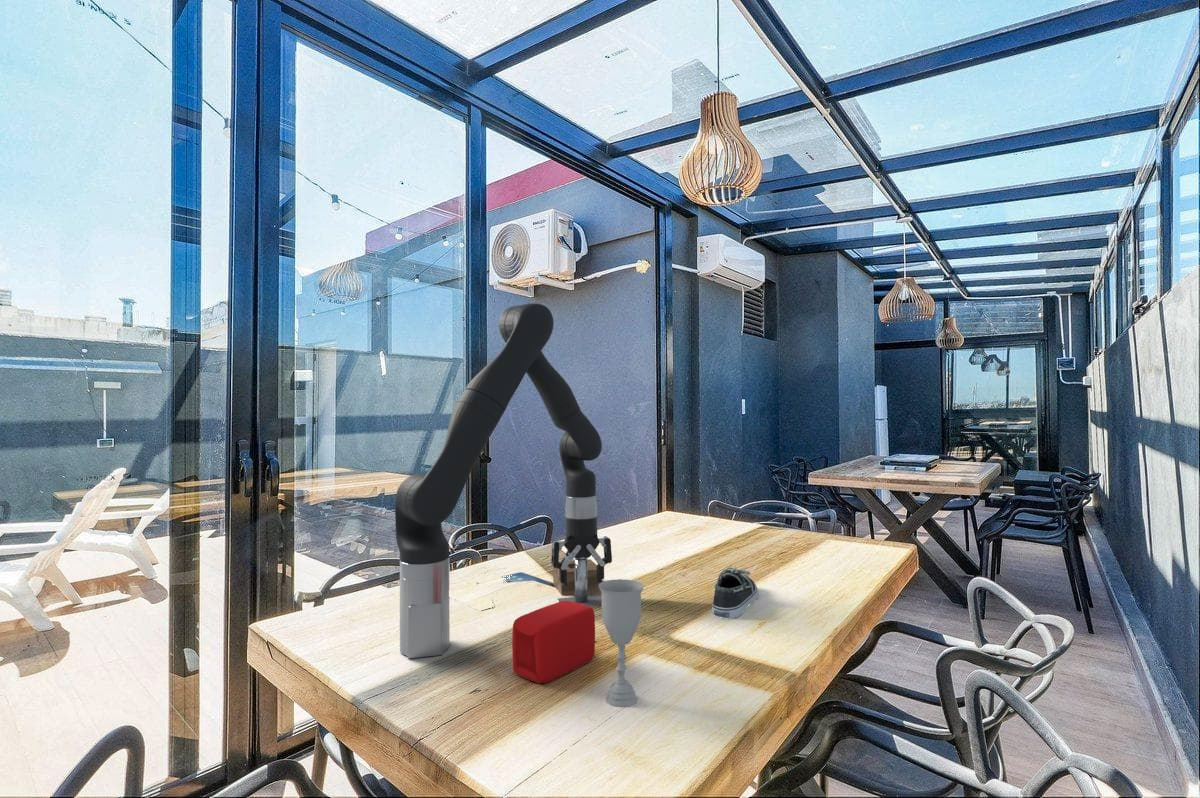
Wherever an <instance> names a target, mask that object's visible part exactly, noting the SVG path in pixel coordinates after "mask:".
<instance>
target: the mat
mask: <svg viewBox="0 0 1200 798" xmlns="http://www.w3.org/2000/svg"><path fill="white" fill-rule="evenodd" d="M557 600H558V602H560V601H571V602H575V596H572V597H571V596H570V597H559V598H557ZM580 604H583V605H586V606H589V607H592V606H599V605H601V606H602V597H600V596H599V594H593V595H588V601H587V602H586V603H580Z"/></svg>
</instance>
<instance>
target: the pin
mask: <svg viewBox="0 0 1200 798" xmlns="http://www.w3.org/2000/svg"><path fill="white" fill-rule="evenodd" d="M587 559H588V558H580V559H576V558H574V561H575V594H574V597H575V602H576V603H586V602H587V601H588V596H589V595H588V594H589V593H588V565H587Z"/></svg>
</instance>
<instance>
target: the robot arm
mask: <svg viewBox="0 0 1200 798" xmlns="http://www.w3.org/2000/svg"><path fill="white" fill-rule="evenodd" d="M554 324H555V323H554V317H553V313H552V312H551V310H550V309H549V307H547V306H546V305H544V304H541V303H535V302H533V303H531V302H530V303H525V304H519V305H514V306H510V307H508V308H506V309H505V310H503V311H502V313H501V315H500V316H499V319H498V329H499V333H500V335H501V337H502V339H503V341H504V343H505V344H504V346H503V347H502V349H501V350H500V351H499V353H497V355H496V356H495V357H494V358H493V359H492V360H491V361H490V362H489V363H488V364H487V365H486V366H484V367H483V368H482V369H481V370H480V371H479V372H478V373H477V374H476V375H475V376H474V377H473V378H472V379H471V380H470V382H469V383H468V384H467V385H466V386H465V388H464V390H463V392H462V393H461V395H460V397H459V398H458V400H457V401H456V404H455V405H454V407H453V409H452V411H451V415H450V418H449V422H448V427H447V433H446V436H445V442H444V444H443V447H442V449H441V451H440V453H439V455H438V456H437V458H436V459H435V462H434V463H433V464H432V466H431V468H430V469H429V470H428V472H427V473H426V474H423V473H417V474H413V475H412V474H411V475H409V476H408V477H406V478H405V479H404V480H403V481H402V482H401V483H400V484H399V486H398V488H397V490H396V494H395V502H394V518H395V521H394V522H395V523H394V524H395V538H396V544H397V548H398V552H399V652H400V653H401V654H402V655H404V656H406V657H407V659H414V658H415V659H416V658H424V657H432V656H433V657H435V656H442V654H443V652H445V651H446V650H448V648H449V647H450V639H451V638H450V630H451V629H450V597H449V590H450V543H449V541H448V540H447V538H446V536H445V533H444V531H443V528H442V523H443V522H445V521H446V520H447V519H448V518H450V516H451V515H452V513H453V512H454V510H455V508H456V506H457V504H458V502H459V500H460V497H461V495H462V493H463V490H464V488H465V486H466V483H467V481H468V479H469V477H470V474H471V472H472V470H473V468H474V466H475V465H476V462H477V461H478V458H479V457H480V455H481V453H482V452H483V450H484V449H485V446H486V445H487V443H488V442H489V439H490V437H491V435H492V434H493V432H494V431H495V429H496V428H497V426H498V424H499V422H500V420H501V419H502V416H503V415H504V413H505V411H506V410H507V407H508V406H509V404H510V401H511V400H512V398H513V397H514V395H515V393H516V391H517V390H518V387H520V384H521V382H522V381H523V378H524V377H525V376H526V375H527V377H528V378H529V380H530V381H531V382H532V384H533V386H534V387H535V389H536V391H537V392H538V394H539V396H540V398H541V400H542V402H543V404H544V406H545V408H546V410H547V412H548V414H549V416H550V419H551V420H552V423H553V425H554V426H555V427H556V428H558V429H559V430H562V431H564V433H563V434H562V436H561V438H560V441H559V445H558V450H559V451H558V452H559V456H560V457H559V458H560V460H561V461H560V462H561V465H562V468H563V472H564V475H565V486H566V487H565V492H566V494H565V495H566V496H565V506H564V507H565V509H564V515H565V518H564V519H565V538H564V540H556V539H554V540H552V543H551V562H550V563H551V566H552V568H553V567H554V568H559V580H560V582H561V583H562V584H563V586H566V585H567V570H566V567H567V566H568V564H569V563H570V562H571V561H574V559H575V558H576V559H580V558H587V559H589V558H590V557H592V558H593V559H594V560H595V561H596V566H597V581H598V582H601V583H602V582H603V580H604V579H605V566H606V565H607V564H612V562H613V555H612V540H611V538H609V537H608V536H603V537H600V538H599V537H598V503H597V494H596V493H597V492H596V490H597V480H596V474H595V473H594V471H592V470H590V469H589V468H587V467H586V464H585V462H586V461H587V462H590V461H594V460H596V459H598V458H599V457H600V455H601V453H602V448H603V443H602V439H601V435H600V434H599V432H598V431H597V429H596V427H595V426H594V424H592V422H591V421H590V419H588V417H587V416H586V415H585V414H584V412H582V410H581V408H580V406H579V403H578V400H577V398H576V397H575V395H574V392H573V390H572V388H571V387H570V385H569V384H568V382H567V381H566V379H564V378H563V376H562V375H561V374H560V373H559V372H558V371H557V369H555V367H554V366H553V365H552V364H551V362H549V360H548V359H547V358H546V356H545V355H544V353H543V351H542V350H543V349H544V347H545V346H546V345H547V343H548V342H549V340H550V339H551V336H552V334H553V331H554ZM599 545H601V547H602V548H603V557H601V556H600V555H599V554H598V552H597V551H596V549H597V548H598V546H599ZM563 547H565V549H566V550H567V551H566V552H565V553H564V555H563V557H562V559H561V560H560V551H561V550H562V549H563ZM559 560H560V561H559Z"/></svg>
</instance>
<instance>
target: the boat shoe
mask: <svg viewBox="0 0 1200 798" xmlns="http://www.w3.org/2000/svg"><path fill="white" fill-rule="evenodd" d="M748 575H751V572H750V571H748V570H745V569H742V568H738V569H737V567H732V566H727V567H726V568H725V569H722V570H721V571H720V572H719V573H718V576H717V580H716V583H715V584H714V586H713V587H714V593H713V601H712V604H711V614H713V615H712V616H714V615H715V616H714V617H716V616H718V617H722V618H721V619H723V618H733V619H736V618H735V617H737V618H739V617H741V614H742V613H743V614H744V612H745V611H746V609H747V608H748V607H749V606H748V605H749V604H751V603H753V602H754V601H755V600H756V599H757V598H759V590H758V586H757V584H756V583H755V581H754V580H753V579H752V578H750V577H749V576H748ZM757 600H758V599H757ZM757 600H756V601H757ZM756 601H755V602H756ZM755 602H754V603H755ZM754 603H753V604H754ZM751 605H752V604H751ZM747 606H748V607H747ZM746 607H747V608H746ZM745 608H746V609H745ZM744 610H745V611H744ZM743 611H744V612H743ZM743 614H742V615H743ZM718 617H717V618H718Z"/></svg>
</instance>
